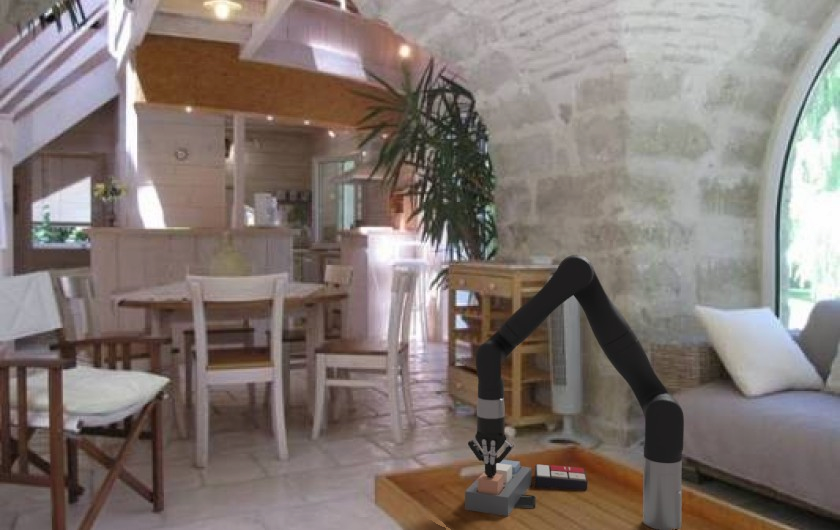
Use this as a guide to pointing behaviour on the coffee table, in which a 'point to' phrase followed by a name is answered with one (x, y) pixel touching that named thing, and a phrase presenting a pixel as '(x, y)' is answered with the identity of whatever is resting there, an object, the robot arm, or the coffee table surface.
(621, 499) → the coffee table surface
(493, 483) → the terracotta key
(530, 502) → the phone
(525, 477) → the key panel
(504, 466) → the white key
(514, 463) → the slate key
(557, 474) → the calculator
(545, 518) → the coffee table surface
